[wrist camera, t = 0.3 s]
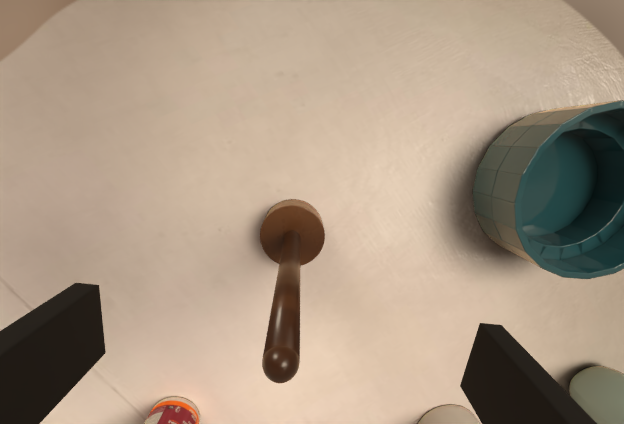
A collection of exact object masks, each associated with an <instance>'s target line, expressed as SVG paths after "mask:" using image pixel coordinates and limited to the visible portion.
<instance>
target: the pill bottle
mask: <svg viewBox="0 0 624 424" xmlns="http://www.w3.org/2000/svg"><path fill="white" fill-rule="evenodd" d="M199 422H200V414H199V411H198V409H197V407H196V406H195V405H194V404H193V403H192V402H190V401H189V400H187V399H185V398H180V397H170V398H166V399H163V400H161V401H160V402H158V403H157V404H156V405H155V406H154V407H153V409H152V411H151V412H150V414H149V416H148V417H147V419H146V421H145V423H144V424H199Z"/></svg>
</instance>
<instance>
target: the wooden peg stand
mask: <svg viewBox="0 0 624 424" xmlns="http://www.w3.org/2000/svg"><path fill="white" fill-rule="evenodd" d="M324 239H325V233H324V228H323V224H322V220H321V217H320V215H319V213H318V212H317V210H316V209H315V208H314V207H313V206H311V205H310V204H308V203H307V202H304V201H301V200H296V199H291V200H285V201H282V202H280V203H278V204H276V205H275V206H273V207H272V208H271V209H270V211H269V212H268V214H267V215H266V218H265V220H264V222H263V224H262V227H261V231H260V241H261V245H262V247H263V249H264V251H265V253H266V254H267V255H268V256H269V257H270V258H271V259H272V260H273V261H275V262H277V263H279V269H278V275H277V281H276V286H275V292H274V298H273V303H272V309H271V315H270V320H269V326H268V332H267V337H266V343H265V349H264V354H263V360H262V367H263V370H264V373H265V375H266V376H267V377H268V379H270V380H271V381H273V382H276V383H285V382H287V381H289V380H291V379H292V378H293V377H294V376H295V374H296V373H297V370H298V368H299V359H300V265H304V264H306V263H308V262H310V261H312V260H313V259H314V258H315V257H316V256H317V255H318V254H319V253H320V251H321V249H322V247H323V244H324Z"/></svg>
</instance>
